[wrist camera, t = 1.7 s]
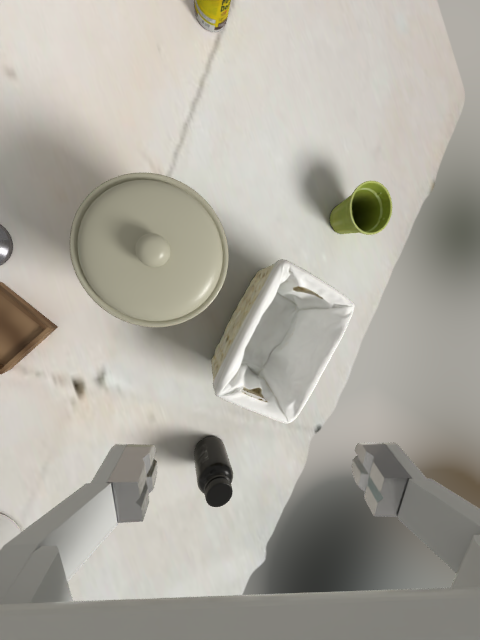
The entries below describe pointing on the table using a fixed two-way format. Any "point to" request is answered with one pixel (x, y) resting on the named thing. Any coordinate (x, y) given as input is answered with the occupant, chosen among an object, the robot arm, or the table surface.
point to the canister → (149, 249)
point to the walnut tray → (19, 328)
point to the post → (5, 245)
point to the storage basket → (279, 341)
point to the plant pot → (363, 210)
